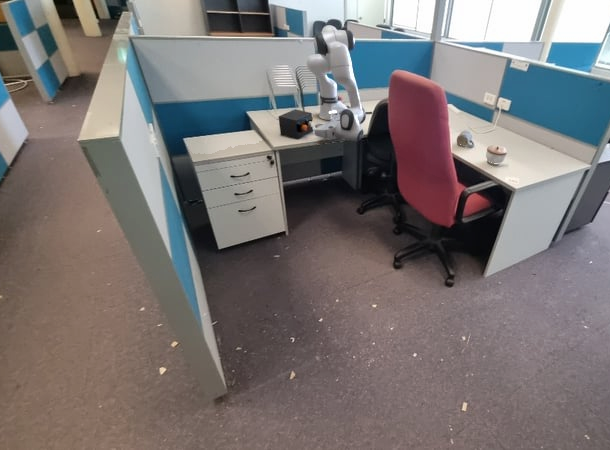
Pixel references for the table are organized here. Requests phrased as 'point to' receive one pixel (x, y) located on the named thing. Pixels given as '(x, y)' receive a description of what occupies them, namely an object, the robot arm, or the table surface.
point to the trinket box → (495, 154)
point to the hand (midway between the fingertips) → (316, 125)
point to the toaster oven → (295, 123)
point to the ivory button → (311, 124)
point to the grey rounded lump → (465, 139)
